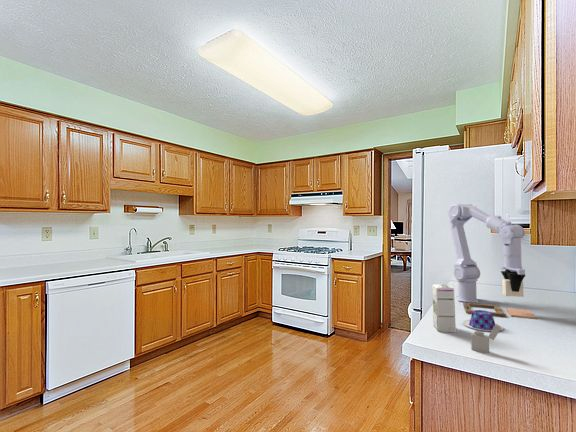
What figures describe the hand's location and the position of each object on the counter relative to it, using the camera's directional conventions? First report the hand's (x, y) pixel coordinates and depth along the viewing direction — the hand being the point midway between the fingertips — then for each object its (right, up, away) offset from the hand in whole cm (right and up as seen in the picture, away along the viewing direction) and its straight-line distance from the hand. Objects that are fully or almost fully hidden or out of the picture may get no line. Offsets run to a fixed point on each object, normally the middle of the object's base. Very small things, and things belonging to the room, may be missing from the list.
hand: (513, 290), depth 123 cm
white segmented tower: (-35, -9, -17) cm, 40 cm away
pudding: (-21, -9, -14) cm, 27 cm away
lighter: (-33, -9, -36) cm, 49 cm away
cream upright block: (0, -2, 0) cm, 2 cm away
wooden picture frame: (-9, -9, +4) cm, 14 cm away
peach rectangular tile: (+2, -9, -1) cm, 9 cm away
